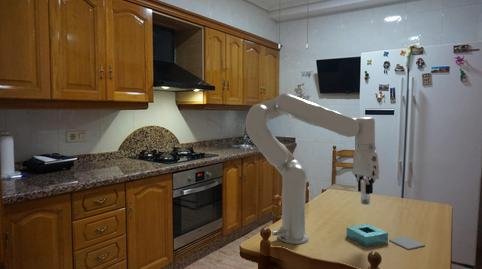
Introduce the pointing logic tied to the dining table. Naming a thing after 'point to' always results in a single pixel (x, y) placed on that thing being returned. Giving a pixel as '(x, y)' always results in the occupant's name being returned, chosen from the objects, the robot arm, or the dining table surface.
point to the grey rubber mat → (407, 242)
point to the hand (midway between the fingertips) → (365, 191)
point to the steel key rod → (364, 193)
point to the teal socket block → (367, 235)
